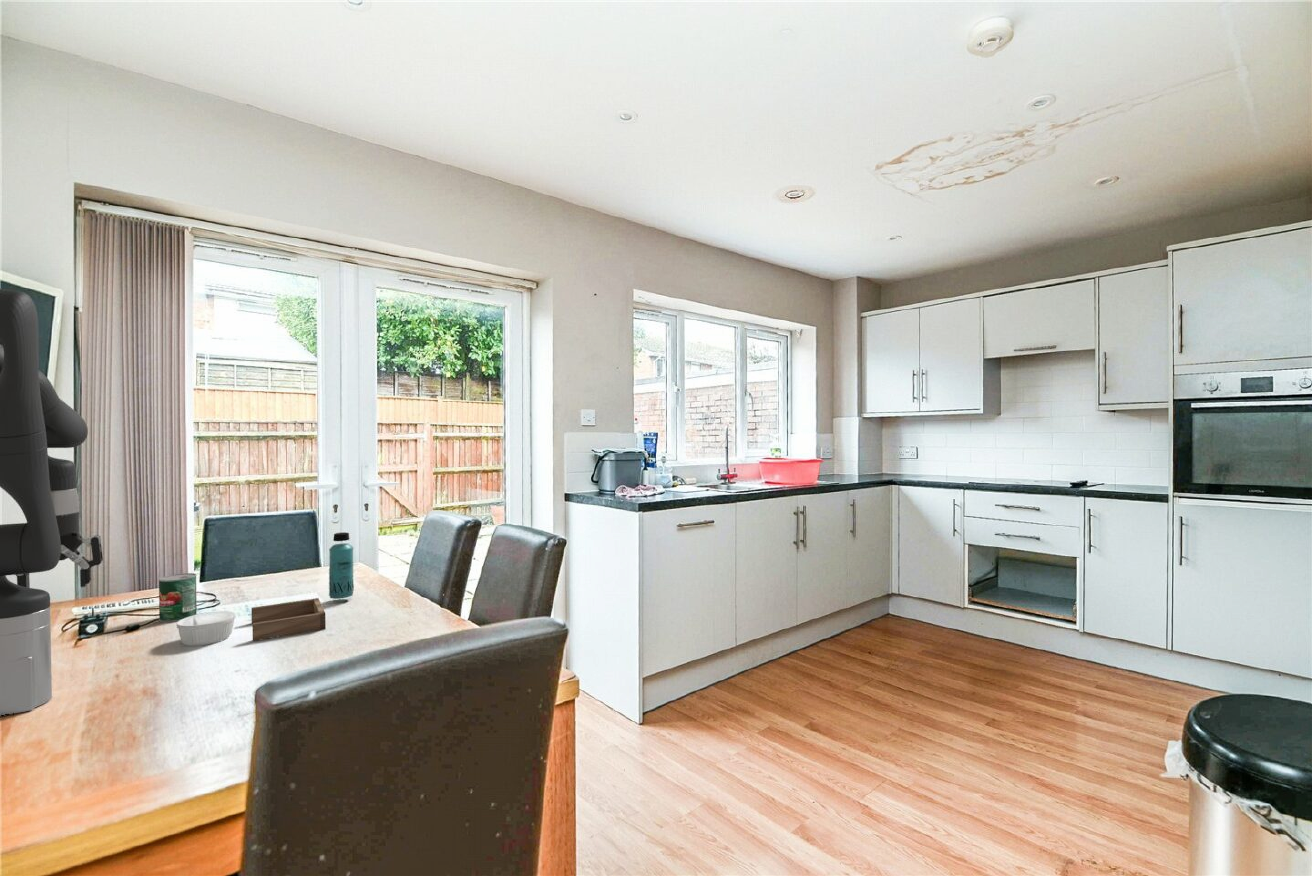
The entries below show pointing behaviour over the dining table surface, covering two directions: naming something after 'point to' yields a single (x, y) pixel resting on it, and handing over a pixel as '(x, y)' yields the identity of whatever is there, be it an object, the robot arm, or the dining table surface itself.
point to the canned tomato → (177, 597)
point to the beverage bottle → (341, 568)
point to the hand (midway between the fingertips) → (55, 589)
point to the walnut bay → (287, 618)
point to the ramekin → (206, 628)
